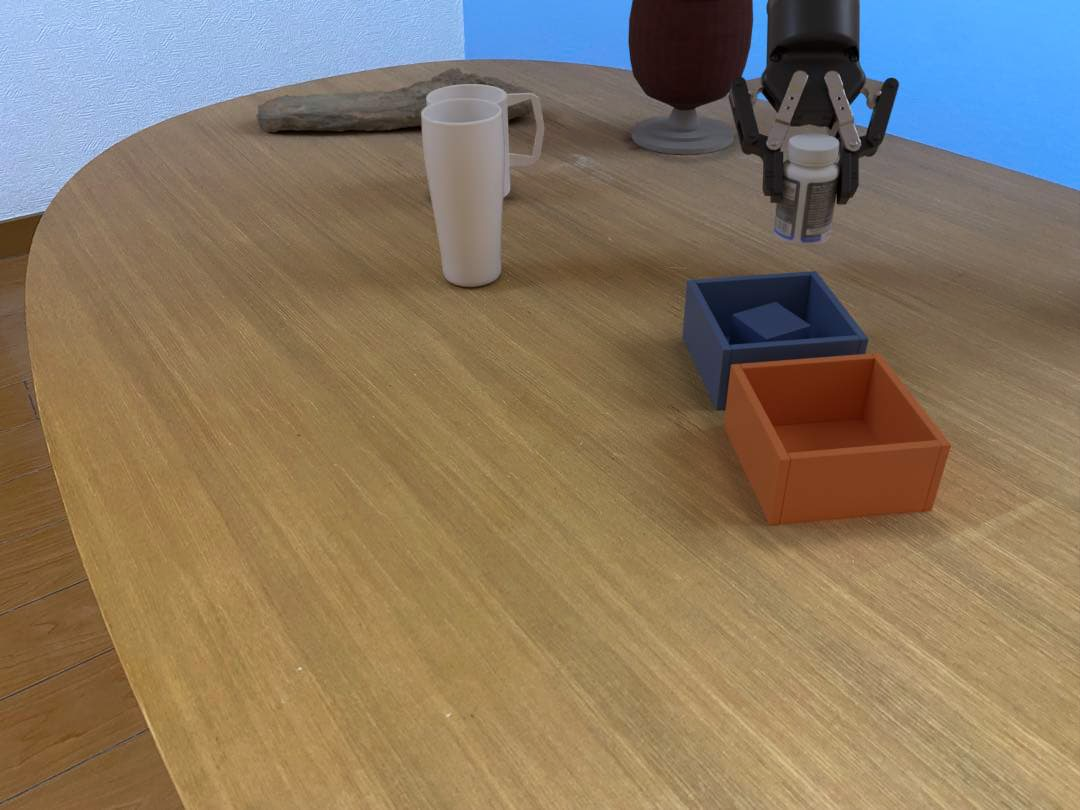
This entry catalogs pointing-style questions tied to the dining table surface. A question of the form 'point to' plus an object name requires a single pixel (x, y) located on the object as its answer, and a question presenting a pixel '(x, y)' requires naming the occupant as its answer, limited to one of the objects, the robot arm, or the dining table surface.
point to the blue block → (767, 325)
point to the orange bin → (833, 439)
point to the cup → (503, 101)
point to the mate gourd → (687, 67)
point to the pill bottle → (808, 190)
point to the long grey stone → (371, 106)
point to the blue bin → (729, 295)
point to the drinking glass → (466, 186)
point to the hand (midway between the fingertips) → (810, 199)
